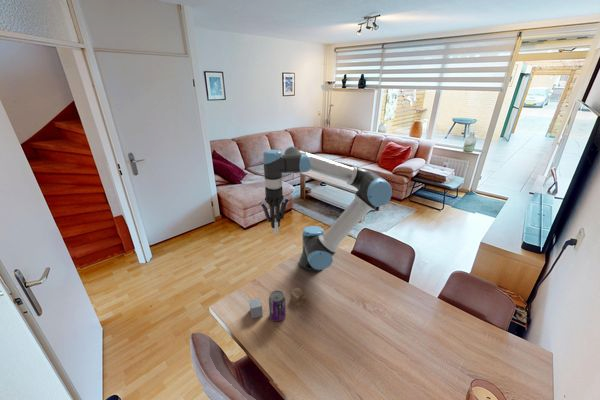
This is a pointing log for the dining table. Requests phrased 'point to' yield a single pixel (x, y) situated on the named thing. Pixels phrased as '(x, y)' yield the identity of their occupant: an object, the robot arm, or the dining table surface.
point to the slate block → (255, 308)
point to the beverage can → (277, 305)
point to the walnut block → (297, 296)
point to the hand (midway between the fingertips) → (275, 233)
